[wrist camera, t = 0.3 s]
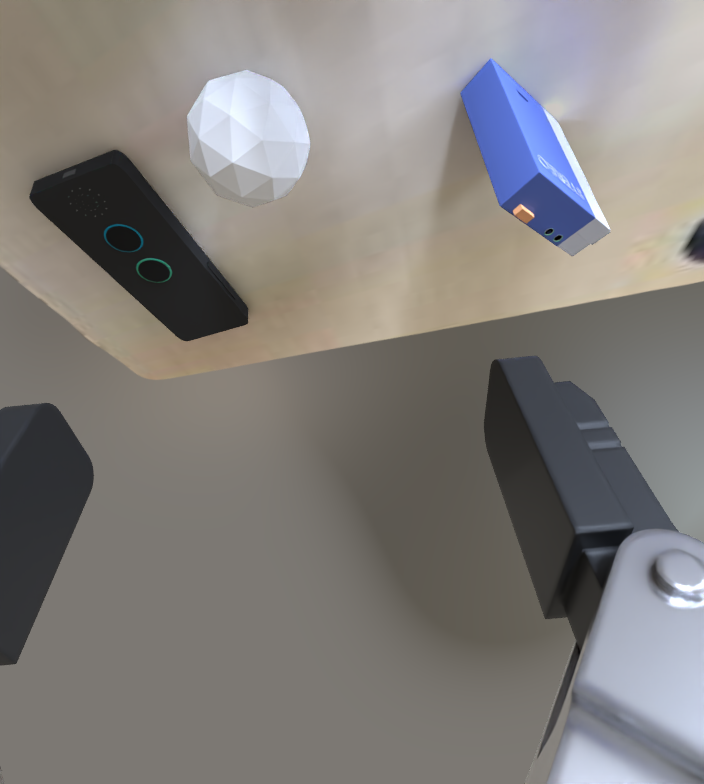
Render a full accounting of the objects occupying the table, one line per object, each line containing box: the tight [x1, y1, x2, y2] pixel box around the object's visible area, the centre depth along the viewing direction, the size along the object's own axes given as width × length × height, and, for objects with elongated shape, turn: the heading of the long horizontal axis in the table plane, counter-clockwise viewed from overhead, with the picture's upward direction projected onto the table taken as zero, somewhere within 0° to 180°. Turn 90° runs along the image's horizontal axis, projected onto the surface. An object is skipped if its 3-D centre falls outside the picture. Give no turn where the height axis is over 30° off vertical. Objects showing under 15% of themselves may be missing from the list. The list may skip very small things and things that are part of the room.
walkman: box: [460, 59, 610, 256], centre depth 33 cm, size 8×3×12 cm, turn 53°
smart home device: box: [29, 150, 248, 341], centre depth 45 cm, size 8×2×20 cm
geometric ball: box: [187, 70, 311, 207], centre depth 33 cm, size 8×8×8 cm
